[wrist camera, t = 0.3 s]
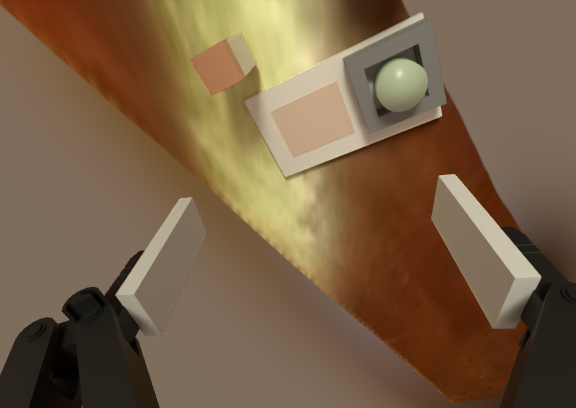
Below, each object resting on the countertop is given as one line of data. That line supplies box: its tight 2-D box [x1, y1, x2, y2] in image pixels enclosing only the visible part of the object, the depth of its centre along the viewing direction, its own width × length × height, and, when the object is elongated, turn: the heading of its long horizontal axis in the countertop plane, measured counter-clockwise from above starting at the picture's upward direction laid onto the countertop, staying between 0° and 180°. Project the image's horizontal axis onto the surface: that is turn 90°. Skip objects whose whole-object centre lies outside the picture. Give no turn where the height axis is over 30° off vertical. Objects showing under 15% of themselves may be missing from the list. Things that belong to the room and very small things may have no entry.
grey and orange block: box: [190, 32, 257, 96], centre depth 31 cm, size 4×4×10 cm
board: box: [244, 13, 446, 177], centre depth 36 cm, size 12×22×4 cm, turn 115°
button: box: [373, 57, 428, 112], centre depth 32 cm, size 5×5×3 cm
